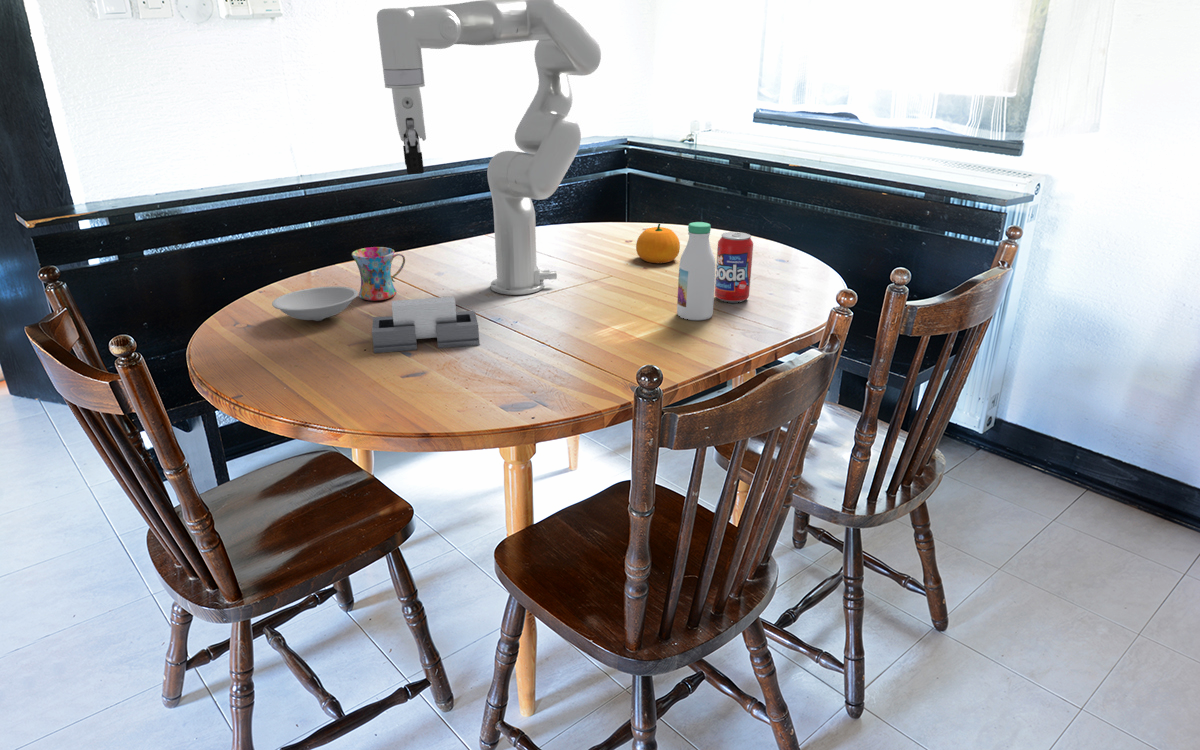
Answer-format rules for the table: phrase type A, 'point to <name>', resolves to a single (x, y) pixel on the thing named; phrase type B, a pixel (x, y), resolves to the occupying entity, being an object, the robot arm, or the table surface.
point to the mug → (376, 272)
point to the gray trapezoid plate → (424, 314)
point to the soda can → (733, 267)
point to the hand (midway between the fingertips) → (414, 169)
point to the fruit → (658, 245)
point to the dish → (315, 302)
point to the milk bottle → (696, 275)
